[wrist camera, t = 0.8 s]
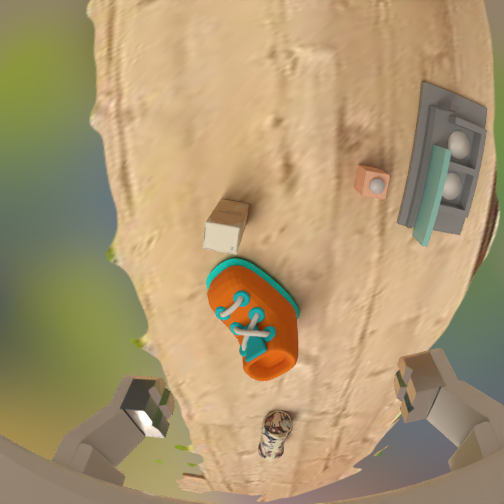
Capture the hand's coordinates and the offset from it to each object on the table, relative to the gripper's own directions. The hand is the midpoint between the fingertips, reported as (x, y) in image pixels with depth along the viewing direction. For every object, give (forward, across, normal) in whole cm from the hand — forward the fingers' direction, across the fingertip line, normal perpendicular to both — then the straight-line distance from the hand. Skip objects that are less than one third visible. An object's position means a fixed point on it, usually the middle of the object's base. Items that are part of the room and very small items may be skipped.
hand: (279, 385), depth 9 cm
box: (+42, +9, +7) cm, 44 cm away
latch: (+41, -26, +7) cm, 49 cm away
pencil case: (+44, +11, +77) cm, 89 cm away
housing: (+42, -31, +2) cm, 52 cm away
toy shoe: (+43, +8, +25) cm, 50 cm away
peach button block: (+42, -15, +4) cm, 45 cm away
